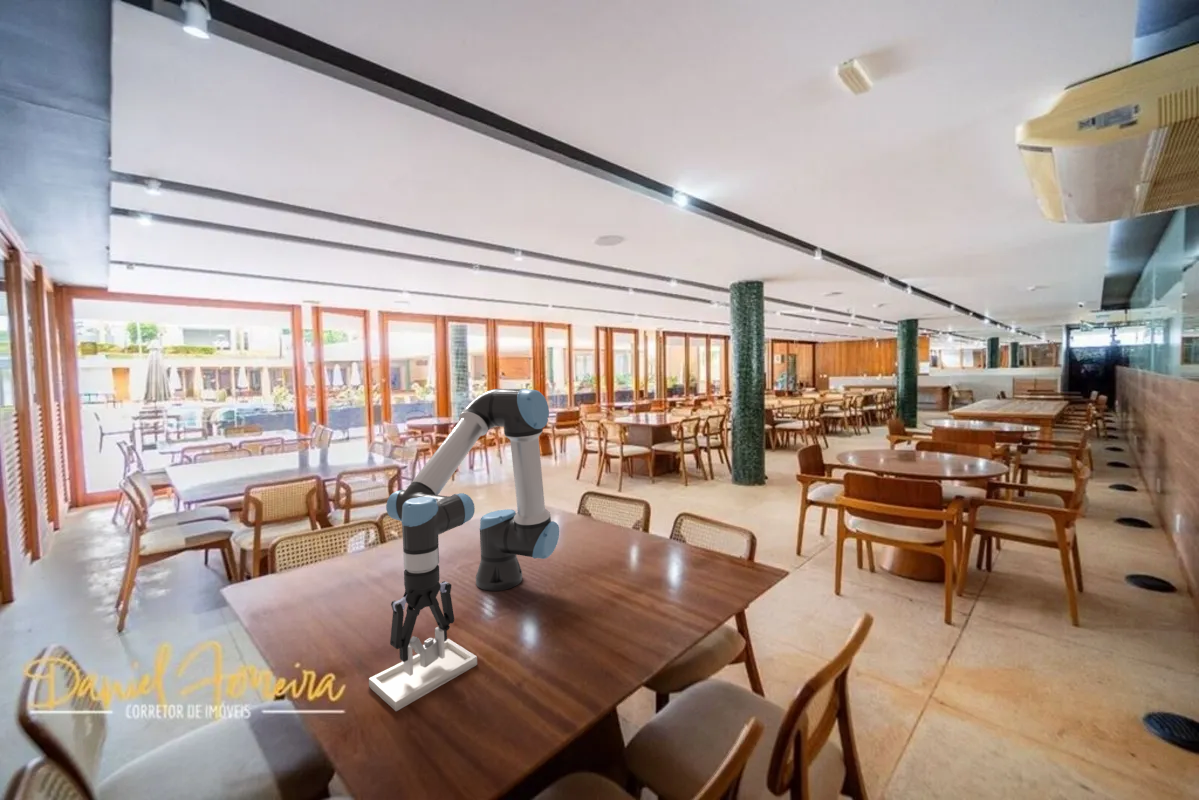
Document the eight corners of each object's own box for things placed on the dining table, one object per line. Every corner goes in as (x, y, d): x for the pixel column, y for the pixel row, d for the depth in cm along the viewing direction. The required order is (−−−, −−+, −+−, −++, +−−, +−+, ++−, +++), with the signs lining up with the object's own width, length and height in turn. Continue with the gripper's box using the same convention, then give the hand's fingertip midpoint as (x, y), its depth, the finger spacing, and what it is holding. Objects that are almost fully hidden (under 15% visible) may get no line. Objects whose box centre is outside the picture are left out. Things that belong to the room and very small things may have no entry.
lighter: (433, 655, 113) (432, 623, 112) (439, 657, 112) (438, 624, 111) (409, 672, 106) (408, 638, 106) (415, 675, 105) (414, 640, 105)
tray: (448, 646, 121) (448, 638, 121) (477, 664, 113) (476, 656, 113) (369, 687, 105) (368, 678, 105) (396, 711, 98) (395, 702, 98)
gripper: (451, 549, 118) (453, 639, 119) (369, 577, 102) (373, 679, 104) (469, 557, 113) (471, 650, 114) (386, 587, 97) (389, 694, 99)
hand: (424, 663), depth 109 cm, fingers closed on lighter, 7 cm apart
